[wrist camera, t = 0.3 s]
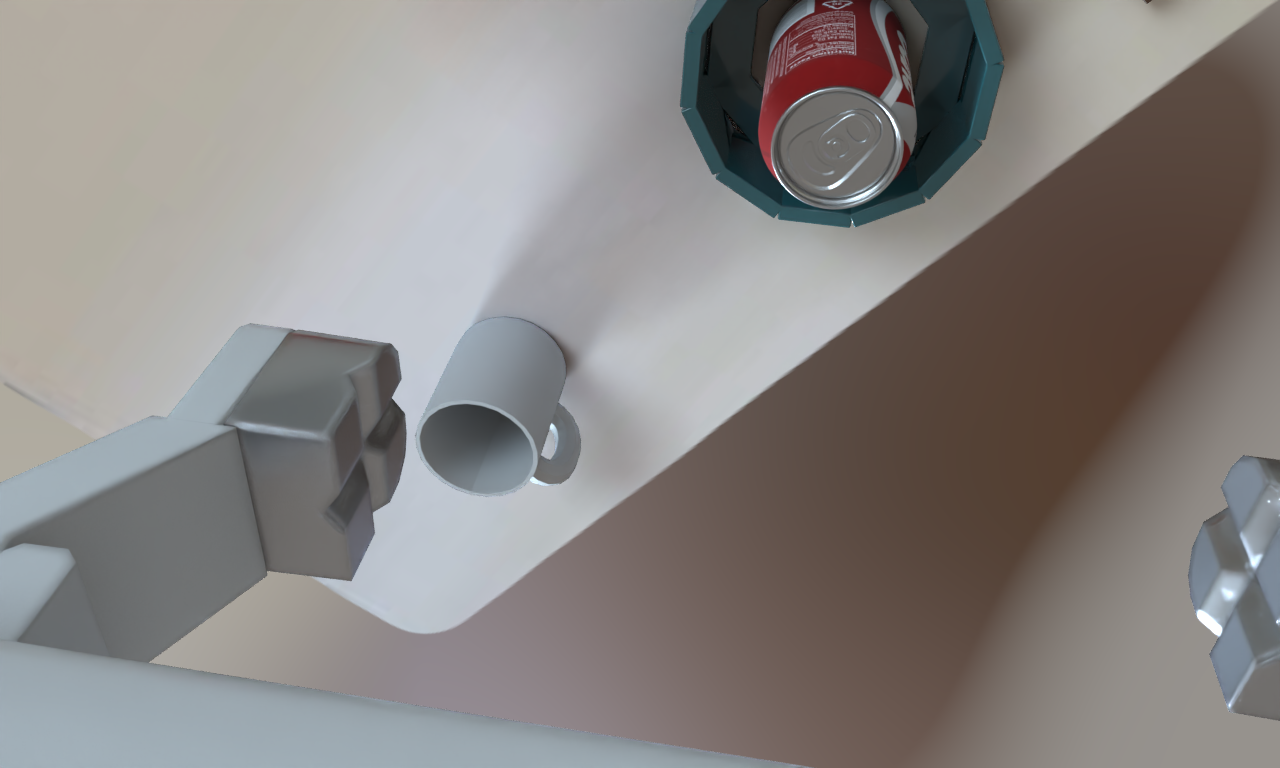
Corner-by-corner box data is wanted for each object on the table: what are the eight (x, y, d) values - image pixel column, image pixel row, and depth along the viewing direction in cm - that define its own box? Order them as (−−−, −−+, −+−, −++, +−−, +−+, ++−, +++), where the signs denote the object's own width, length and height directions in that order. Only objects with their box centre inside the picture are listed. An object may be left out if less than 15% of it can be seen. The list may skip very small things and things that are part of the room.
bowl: (706, -119, 52) (695, -92, 48) (1022, -90, 51) (1037, -59, 47) (682, 165, 61) (671, 207, 57) (951, 195, 60) (958, 241, 56)
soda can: (742, 41, 56) (722, 140, 47) (851, -49, 53) (853, 38, 44) (824, 137, 59) (821, 250, 49) (933, 57, 56) (952, 162, 46)
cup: (500, 292, 68) (461, 378, 61) (624, 387, 71) (600, 480, 64) (436, 358, 72) (391, 447, 65) (556, 446, 75) (526, 540, 68)
